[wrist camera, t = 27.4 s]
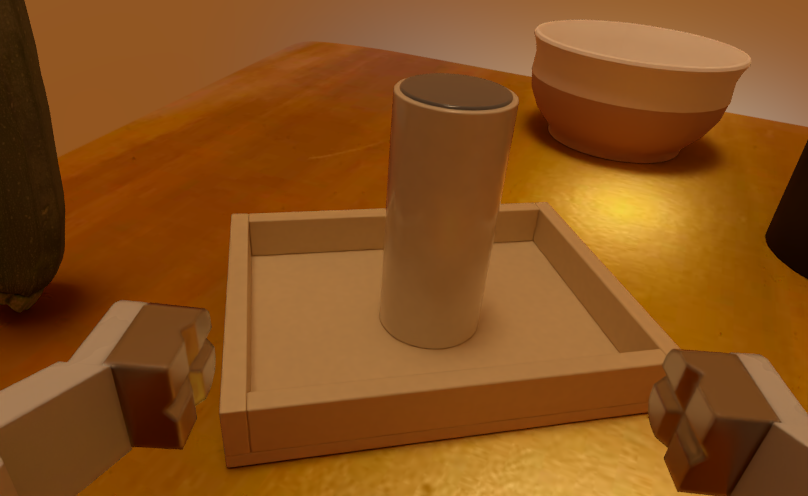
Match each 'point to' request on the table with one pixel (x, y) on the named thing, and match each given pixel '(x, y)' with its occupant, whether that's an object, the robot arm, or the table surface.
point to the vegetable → (26, 168)
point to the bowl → (631, 87)
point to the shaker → (442, 204)
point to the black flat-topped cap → (792, 220)
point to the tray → (412, 366)
